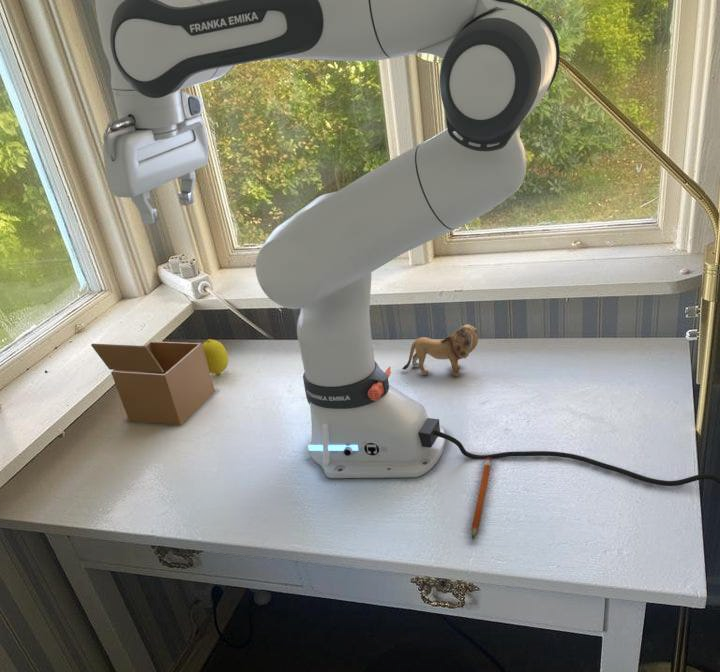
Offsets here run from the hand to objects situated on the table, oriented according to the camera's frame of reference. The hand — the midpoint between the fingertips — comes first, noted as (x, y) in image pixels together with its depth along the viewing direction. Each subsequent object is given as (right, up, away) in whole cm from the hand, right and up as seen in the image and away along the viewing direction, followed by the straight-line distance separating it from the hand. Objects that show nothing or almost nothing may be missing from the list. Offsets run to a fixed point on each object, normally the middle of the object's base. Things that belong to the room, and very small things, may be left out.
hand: (169, 213), depth 107 cm
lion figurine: (+44, -18, +32) cm, 57 cm away
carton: (-8, -25, +34) cm, 43 cm away
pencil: (+46, -42, -2) cm, 62 cm away
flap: (-13, -18, +21) cm, 30 cm away
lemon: (-1, -18, +43) cm, 47 cm away
